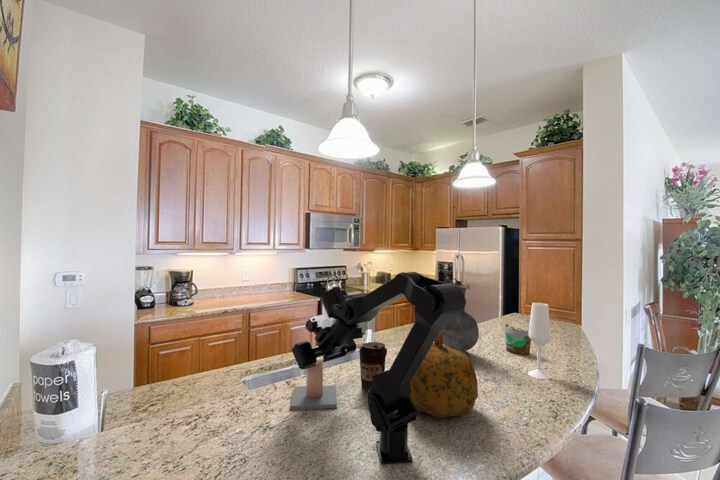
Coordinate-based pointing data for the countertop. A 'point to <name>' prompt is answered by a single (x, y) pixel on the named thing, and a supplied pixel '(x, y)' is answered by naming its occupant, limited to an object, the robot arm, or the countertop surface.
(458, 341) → the pitcher
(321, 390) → the terracotta canister
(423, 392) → the decorative pumpkin
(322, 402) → the mat
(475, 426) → the countertop surface
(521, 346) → the food container
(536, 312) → the champagne flute
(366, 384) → the coffee cup
